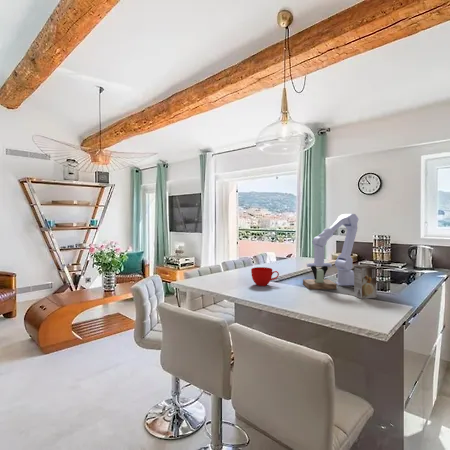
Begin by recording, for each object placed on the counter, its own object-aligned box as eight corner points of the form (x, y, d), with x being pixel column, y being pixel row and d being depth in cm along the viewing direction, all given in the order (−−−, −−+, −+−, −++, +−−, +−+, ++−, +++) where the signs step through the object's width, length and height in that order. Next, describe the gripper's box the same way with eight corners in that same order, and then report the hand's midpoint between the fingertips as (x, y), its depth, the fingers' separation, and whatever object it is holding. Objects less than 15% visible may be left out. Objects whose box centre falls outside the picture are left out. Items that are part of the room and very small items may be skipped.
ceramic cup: (278, 288, 185) (278, 271, 185) (250, 286, 188) (250, 270, 188) (279, 283, 198) (279, 267, 197) (252, 282, 201) (252, 266, 201)
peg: (321, 284, 190) (321, 269, 189) (323, 285, 186) (323, 270, 185) (315, 284, 190) (315, 269, 189) (316, 285, 186) (317, 270, 185)
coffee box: (368, 294, 168) (368, 265, 168) (376, 297, 162) (377, 267, 162) (353, 296, 166) (353, 266, 165) (361, 299, 160) (362, 267, 159)
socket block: (328, 284, 195) (328, 279, 195) (336, 289, 181) (336, 284, 181) (302, 284, 195) (302, 279, 195) (308, 289, 181) (308, 284, 181)
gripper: (308, 257, 183) (308, 280, 184) (333, 257, 183) (333, 280, 184) (305, 255, 190) (305, 277, 191) (329, 255, 190) (329, 277, 191)
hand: (319, 278), depth 188 cm, fingers closed on peg, 4 cm apart
